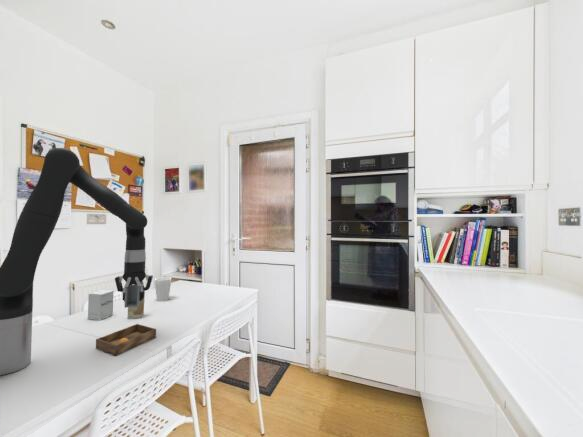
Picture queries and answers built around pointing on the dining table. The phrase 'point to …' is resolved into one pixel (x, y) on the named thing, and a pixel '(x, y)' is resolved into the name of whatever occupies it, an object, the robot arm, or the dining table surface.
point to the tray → (133, 334)
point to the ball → (123, 340)
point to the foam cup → (162, 288)
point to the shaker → (132, 296)
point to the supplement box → (100, 304)
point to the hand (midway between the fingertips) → (133, 300)
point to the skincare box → (136, 310)
